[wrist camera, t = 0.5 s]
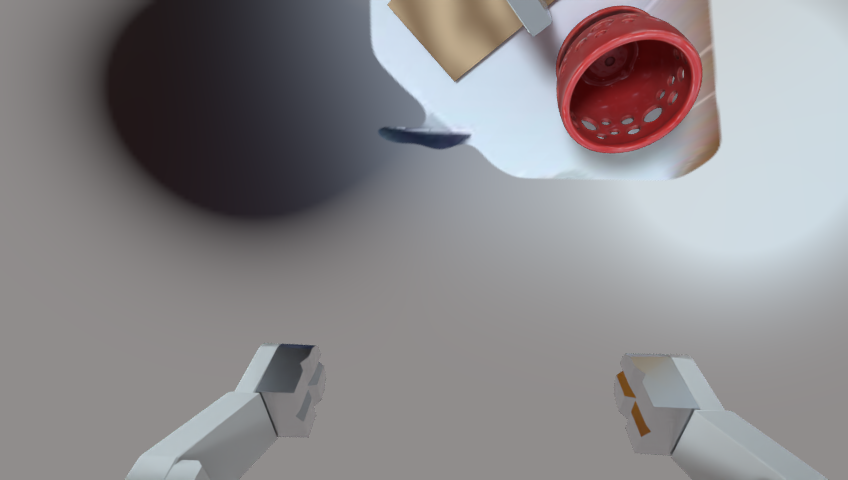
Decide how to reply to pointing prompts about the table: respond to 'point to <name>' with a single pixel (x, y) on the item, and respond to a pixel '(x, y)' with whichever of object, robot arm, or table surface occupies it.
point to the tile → (532, 14)
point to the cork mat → (458, 28)
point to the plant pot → (624, 78)
